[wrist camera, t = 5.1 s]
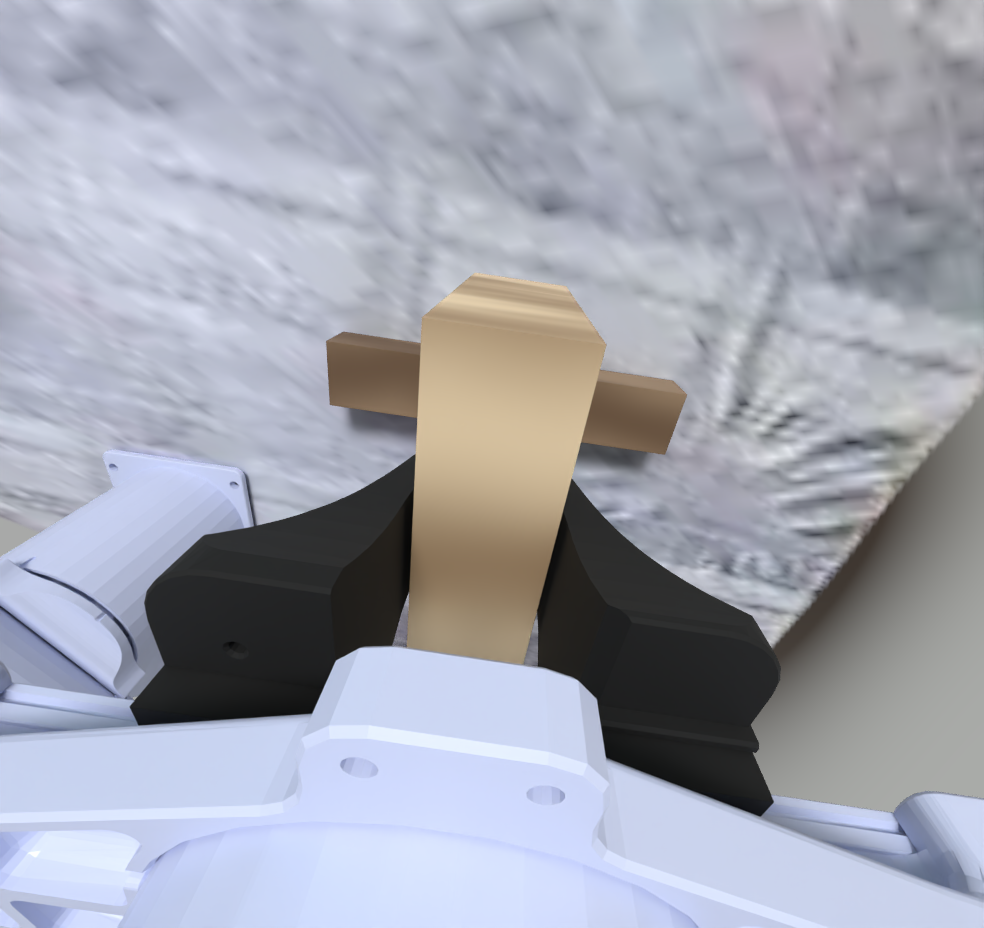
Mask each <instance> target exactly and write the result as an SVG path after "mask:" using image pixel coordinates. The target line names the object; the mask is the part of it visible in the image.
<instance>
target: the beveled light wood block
mask: <svg viewBox="0 0 984 928" xmlns="http://www.w3.org/2000/svg"><path fill="white" fill-rule="evenodd" d="M605 348H606V344H605V342H604V341H603V339H602V338H601V336H600V335H599V333H598V332H597V331H596V329H595V328H594V326H593V325H592V323H591V322H590V320H589V319H588V317H587V316H586V315H585V313H584V312H583V310H582V309H581V307H580V306H579V304H578V303H577V302H576V300H575V299H574V297H573V296H572V294H571V293H570V291H569V290H568V289H567V287H566V286H561V285H554V284H547V283H540V282H534V281H527V280H520V279H514V278H507V277H500V276H493V275H487V274H480V273H474V274H473V275H472V276H470V277H469V278H468V279H467V280H466V281H465V282H463V283H462V284H461V285H460V286H459V287H457V288H456V289H455V290H454V291H453V292H452V293H450V294H449V295H448V296H447V297H446V298H444V299H443V300H442V301H441V302H440V303H439V304H437V305H436V306H435V307H434V308H433V309H431V310H430V311H429V312H428V313H427V314H425V315H424V316H423V317H422V330H421V351H420V373H419V395H418V416H417V438H416V460H415V481H414V503H413V525H412V546H411V568H410V590H409V611H408V633H407V647H408V648H415V649H422V650H429V651H435V652H442V653H449V654H456V655H462V656H469V657H476V658H483V659H489V660H496V661H503V662H510V663H516V664H523V663H524V659H525V655H526V651H527V647H528V644H529V640H530V636H531V632H532V628H533V624H534V621H535V617H536V613H537V609H538V605H539V601H540V597H541V594H542V590H543V586H544V582H545V578H546V574H547V571H548V567H549V563H550V559H551V555H552V551H553V548H554V544H555V540H556V536H557V532H558V528H559V525H560V521H561V517H562V513H563V509H564V505H565V502H566V498H567V494H568V490H569V486H570V482H571V479H572V475H573V471H574V467H575V463H576V459H577V455H578V452H579V448H580V444H581V440H582V436H583V432H584V429H585V425H586V421H587V417H588V413H589V409H590V406H591V402H592V398H593V394H594V390H595V386H596V383H597V379H598V375H599V371H600V367H601V363H602V360H603V356H604V352H605Z"/></svg>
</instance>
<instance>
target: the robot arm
mask: <svg viewBox="0 0 984 928" xmlns="http://www.w3.org/2000/svg"><path fill="white" fill-rule="evenodd" d="M103 460H104V463H105V465H106V468H107V471H108V474H109V477H110V479H111V482H112V485H113V488H112V489H110V490H109V491H107V492H105V493H104V494H102V495H100V496H99V497H97V498H96V499H94V500H92V501H91V502H89V503H87V504H86V505H84V506H83V507H81V508H79V509H78V510H76V511H74V512H73V513H71V514H70V515H68V516H66V517H65V518H63V519H61V520H60V521H58V522H57V523H55V524H53V525H52V526H50V527H48V528H47V529H45V530H43V531H42V532H40V533H39V534H37V535H35V536H34V537H32V538H30V539H29V540H27V541H26V542H24V543H22V544H21V545H19V546H18V547H16V548H14V549H13V550H11V551H9V552H8V553H6V554H4V555H3V556H1V557H0V928H984V798H977V797H970V796H964V795H957V794H949V793H944V792H937V791H936V792H935V791H925V792H920V793H916V794H913V795H911V796H909V797H907V798H906V799H905V800H903V801H902V802H901V803H900V804H899V805H898V806H897V807H896V809H895V811H894V813H892V812H885V811H879V810H872V809H865V808H859V807H852V806H845V805H837V804H832V803H824V802H818V801H811V800H804V799H798V798H791V797H784V796H777V795H771V794H770V791H769V789H768V787H767V785H766V782H765V780H764V777H763V775H762V773H761V771H760V768H759V766H758V764H757V762H756V759H755V757H754V755H753V752H754V753H756V752H757V751H758V749H759V742H758V740H757V738H756V736H755V734H754V731H753V729H752V727H751V723H752V722H753V720H754V719H755V718H756V716H757V715H758V714H759V712H760V711H761V709H762V708H763V707H764V705H765V704H766V703H767V702H768V700H769V698H771V696H772V694H773V693H774V691H775V689H776V687H777V685H778V683H779V681H780V671H781V668H780V665H779V662H778V659H777V657H776V655H775V653H774V651H773V650H772V648H771V646H770V645H769V643H768V641H767V640H766V638H765V636H764V635H763V633H762V631H761V630H760V628H759V626H758V625H757V623H756V621H755V620H754V618H753V617H752V616H751V615H749V614H747V613H745V612H743V611H741V610H739V609H737V608H735V607H733V606H731V605H729V604H727V603H725V602H723V601H721V600H719V599H717V598H715V597H713V596H711V595H709V594H707V593H705V592H703V591H701V590H700V589H698V588H696V587H695V586H693V585H691V584H689V583H688V582H686V581H684V580H683V579H681V578H679V577H678V576H676V575H675V574H673V573H671V572H670V571H668V570H667V569H665V568H664V567H663V566H661V565H660V564H658V563H657V562H655V561H654V560H653V559H651V558H650V557H648V556H647V555H646V554H644V553H643V552H642V551H641V550H639V549H638V548H637V547H636V546H634V545H633V544H632V543H631V542H630V541H629V540H627V539H626V538H625V537H624V536H623V535H622V534H621V533H619V532H618V531H617V530H616V529H615V528H614V527H613V526H612V525H611V524H610V523H609V522H608V521H607V520H606V519H605V518H604V517H603V516H602V514H601V513H600V512H599V511H598V510H597V509H596V508H595V507H594V505H593V504H592V503H591V502H590V501H589V500H588V498H587V497H586V496H585V495H584V493H583V492H582V491H581V490H580V488H579V487H578V486H577V485H576V483H575V482H574V481H573V479H571V482H570V486H569V490H568V494H567V498H566V502H565V505H564V509H563V513H562V517H561V521H560V525H559V528H558V532H557V536H556V540H555V544H554V548H553V551H552V555H551V559H550V563H549V567H548V571H547V574H546V578H545V582H544V586H543V590H542V594H541V597H540V601H539V605H538V609H537V615H538V667H537V666H530V665H523V664H516V663H510V662H503V661H496V660H489V659H483V658H476V657H469V656H462V655H456V654H449V653H442V652H435V651H429V650H422V649H415V648H408V647H402V646H392V644H393V641H394V637H395V634H396V630H397V626H398V623H399V619H400V616H401V612H402V609H403V607H404V604H405V601H406V598H407V595H408V593H409V590H410V568H411V546H412V525H413V503H414V481H415V460H416V454H415V455H414V456H412V457H411V458H409V459H408V460H407V461H405V462H404V463H402V464H401V465H400V466H398V467H397V468H395V469H394V470H392V471H391V472H389V473H388V474H386V475H385V476H383V477H382V478H380V479H378V480H376V481H375V482H373V483H371V484H370V485H368V486H366V487H365V488H363V489H361V490H359V491H357V492H355V493H353V494H351V495H349V496H347V497H345V498H342V499H340V500H338V501H336V502H333V503H331V504H328V505H325V506H323V507H320V508H317V509H314V510H311V511H308V512H306V513H303V514H300V515H297V516H293V517H290V518H286V519H283V520H279V521H275V522H271V523H267V524H262V525H258V526H254V524H253V518H252V513H251V507H250V502H249V496H248V490H247V485H246V479H245V475H244V473H243V472H242V471H241V470H240V469H238V468H235V467H229V466H222V465H215V464H208V463H202V462H195V461H188V460H181V459H175V458H168V457H161V456H154V455H148V454H141V453H134V452H127V451H121V450H114V449H113V450H109V451H107V452H105V453H104V454H103ZM234 482H236V483H237V484H238V485H239V486H238V485H236V484H235V483H234ZM136 696H138V697H137V698H136V699H135V700H133V698H132V697H136Z"/></svg>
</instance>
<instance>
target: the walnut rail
mask: <svg viewBox="0 0 984 928" xmlns="http://www.w3.org/2000/svg"><path fill="white" fill-rule="evenodd" d="M326 346H327V363H328V380H329V397H330V405H333V406H340V407H347V408H354V409H360V410H367V411H374V412H381V413H387V414H394V415H401V416H408V417H414V418H417V416H418V395H419V373H420V351H421V343H415V342H409V341H402V340H395V339H388V338H382V337H375V336H368V335H362V334H355V333H348V332H342V333H340V334H338V335H337V336H335V337H333V338H331V339H329V340H327V341H326ZM686 396H687V394H686V393H685V392H684V391H683V390H682V389H681V388H680V387H679V386H678V385H677V384H676V383H675V382H674V381H671V380H665V379H658V378H651V377H644V376H638V375H631V374H624V373H617V372H611V371H604V370H600V371H599V375H598V379H597V383H596V386H595V390H594V394H593V398H592V402H591V406H590V409H589V413H588V417H587V421H586V425H585V429H584V432H583V436H582V440H581V442H583V443H590V444H596V445H603V446H610V447H617V448H623V449H630V450H637V451H644V452H650V453H657V454H664V455H665V453H666V450H667V448H668V445H669V442H670V439H671V437H672V434H673V431H674V429H675V426H676V423H677V421H678V418H679V415H680V413H681V410H682V407H683V404H684V402H685V399H686Z"/></svg>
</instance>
